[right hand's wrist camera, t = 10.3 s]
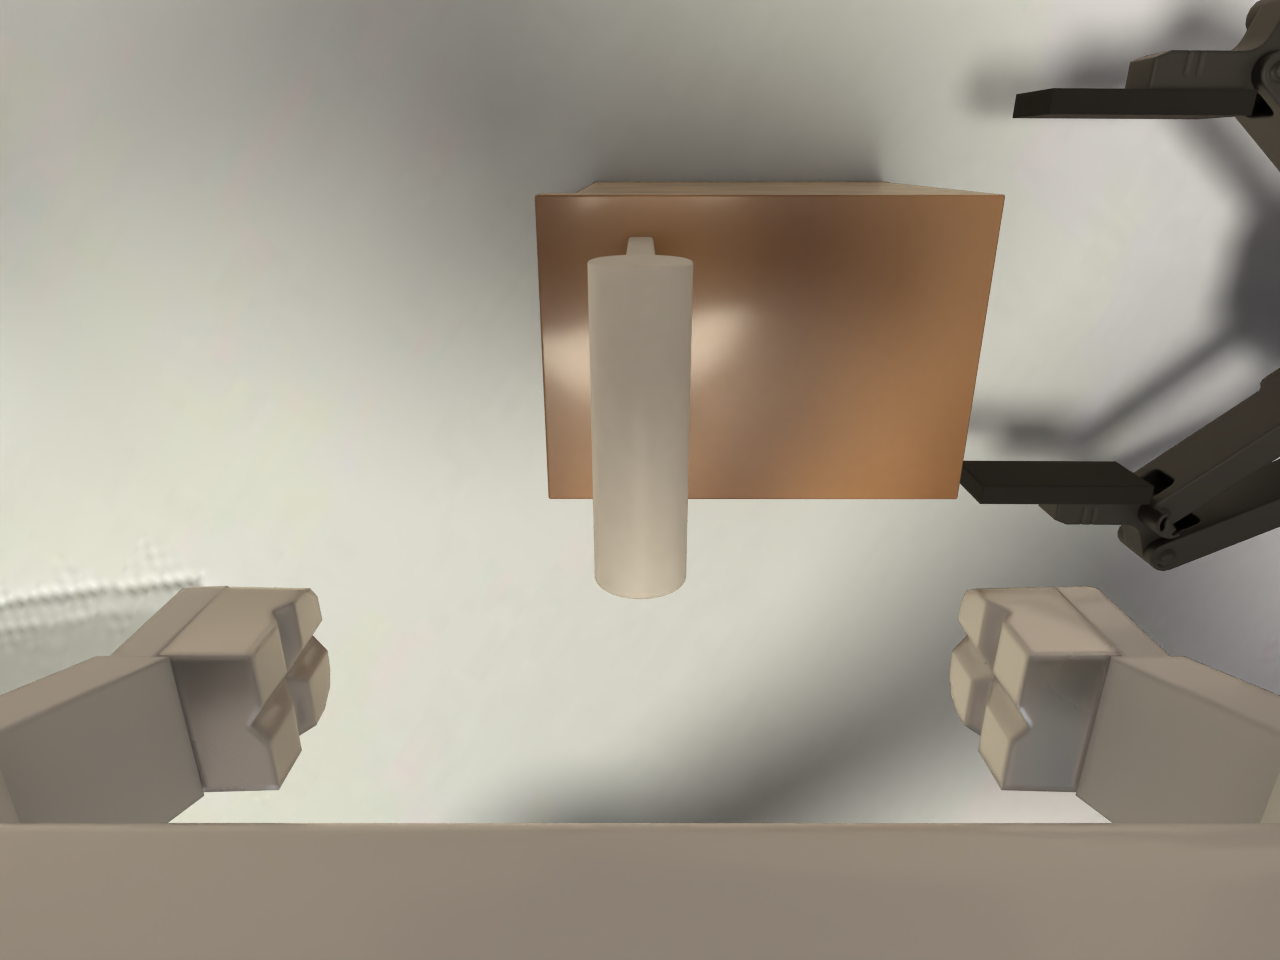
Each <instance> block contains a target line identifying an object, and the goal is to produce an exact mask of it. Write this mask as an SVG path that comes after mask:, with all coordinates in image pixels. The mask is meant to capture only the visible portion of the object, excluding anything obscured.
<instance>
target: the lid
mask: <svg viewBox="0 0 1280 960" xmlns="http://www.w3.org/2000/svg"><path fill="white" fill-rule="evenodd" d="M1004 199H1005V195H1002V194H992V193H541V194H538V195H535V212H536V234H537V255H538V277H539V299H540V320H541V342H542V364H543V385H544V407H545V429H546V450H547V472H548V494H549V498H550V499H593V516H594V558H595V579H596V582H597V583H598V585H599V586H600V587H601V588H602V589H604V590H605V591H607V592H609V593H611V594H613V595H616V596H620V597H625V598H632V599H649V598H656V597H661V596H664V595H667V594H670V593H672V592H674V591H676V590H677V589H679V588H680V587H681V586H682V585H683V583H684V581H685V579H686V553H687V510H688V499H957V496H958V490H959V484H960V477H961V471H962V465H963V458H964V452H965V446H966V439H967V433H968V427H969V420H970V414H971V408H972V401H973V395H974V389H975V382H976V376H977V370H978V363H979V357H980V351H981V344H982V338H983V332H984V325H985V319H986V313H987V306H988V300H989V294H990V288H991V281H992V275H993V269H994V262H995V256H996V250H997V243H998V237H999V231H1000V224H1001V218H1002V212H1003V205H1004Z"/></svg>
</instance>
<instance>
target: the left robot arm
mask: <svg viewBox="0 0 1280 960" xmlns="http://www.w3.org/2000/svg"><path fill="white" fill-rule="evenodd" d="M1246 28H1247V32H1246V33H1245V35H1244V37H1243V39H1242V40H1241V41H1240V43H1239V44H1238V45H1237V46H1236V47H1235V48H1234V49H1233V50H1231V51H1189V50H1172V51H1167V52H1162V53H1157V54H1152V55H1147V56H1144V57H1142V58H1139V59H1137V60H1134V61H1132V62H1130V67H1129V72H1128V76H1127V81H1126V86H1125V89H1089V88H1052V89H1046V90H1040V91H1034V92H1028V93H1022V94H1016V100H1015V106H1014V113H1013V118H1094V119H1206V118H1221V117H1236V119H1237V120H1238V121H1239V122H1240V124H1241V125H1242V126H1243V127H1244V128H1245V130H1246V131H1247V132H1248V133H1249V135H1250V136H1251V137H1252V138H1253V139H1254V141H1255V142H1256V143H1257V144H1258V146H1259V147H1260V148H1261V149H1262V150H1263V152H1264V153H1265V154H1266V155H1267V157H1268V158H1269V159H1270V160H1271V161H1272V163H1273V164H1274V165H1275V166H1276V168H1277V169H1278V170H1279V171H1280V0H1260V1H1258V2H1256V3H1255V5H1254V6H1253V7H1252V8H1251V9H1250V11H1249V13H1248V15H1247V18H1246ZM1260 384H1261V388H1260V390H1259V391H1258V392H1256V393H1255V394H1253V395H1252V396H1250V397H1249V398H1247V399H1246V400H1244V401H1243V402H1241V403H1240V404H1238V405H1237V406H1235V407H1234V408H1232V409H1231V410H1229V411H1227V412H1226V413H1224V414H1223V415H1221V416H1220V417H1218V418H1217V419H1215V420H1214V421H1212V422H1211V423H1209V424H1208V425H1206V426H1205V427H1203V428H1202V429H1200V430H1199V431H1197V432H1195V433H1194V434H1192V435H1191V436H1189V437H1188V438H1186V439H1185V440H1183V441H1182V442H1180V443H1179V444H1177V445H1176V446H1174V447H1173V448H1171V449H1170V450H1168V451H1166V452H1165V453H1163V454H1162V455H1160V456H1159V457H1157V458H1156V459H1154V460H1153V461H1151V462H1150V463H1148V464H1147V465H1145V466H1144V467H1142V468H1141V469H1139V470H1138V471H1136V472H1134V473H1132V472H1131V471H1129V470H1128V469H1126V468H1125V467H1123V466H1121V465H1120V464H1118V463H1117V462H1088V461H963V465H962V471H961V477H960V484H961V485H962V486H963V487H964V488H965V489H966V490H967V491H968V492H969V493H970V494H971V495H972V496H973V497H974V498H975V499H976V500H977V501H978V502H979V503H980V504H1039V506H1040V507H1041V508H1042V509H1043V510H1044V511H1045V512H1047V513H1048V514H1049V515H1050V516H1051V517H1052V518H1053V519H1055V520H1057V521H1059V522H1062V523H1064V524H1095V525H1121V526H1120V528H1119V530H1118V538H1119V540H1120V541H1121V542H1122V543H1123V544H1125V545H1126V546H1127V547H1128V548H1130V549H1131V550H1132V551H1133V552H1135V553H1136V554H1137V555H1138V556H1140V557H1141V558H1142V559H1143V560H1145V561H1146V562H1147V563H1148V564H1150V565H1151V566H1152V567H1153V568H1155V569H1157V570H1160V571H1166V570H1170V569H1172V568H1175V567H1178V566H1180V565H1183V564H1185V563H1188V562H1190V561H1193V560H1196V559H1198V558H1201V557H1203V556H1206V555H1208V554H1211V553H1213V552H1216V551H1219V550H1221V549H1224V548H1226V547H1229V546H1231V545H1234V544H1237V543H1239V542H1242V541H1244V540H1247V539H1249V538H1252V537H1255V536H1257V535H1260V534H1262V533H1265V532H1267V531H1270V530H1272V529H1275V528H1278V527H1280V459H1278V460H1276V461H1274V460H1275V459H1277V458H1279V457H1280V368H1279V369H1277V370H1276V371H1274V372H1273V373H1271V374H1270V375H1268V376H1267V377H1265V378H1264V379H1263V380H1262V382H1261V383H1260ZM1272 461H1273V462H1272Z"/></svg>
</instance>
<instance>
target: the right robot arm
mask: <svg viewBox="0 0 1280 960" xmlns="http://www.w3.org/2000/svg"><path fill="white" fill-rule="evenodd" d="M321 621H322V616H321V611H320V607H319V602H318V597H317V596H316V594H315V593H314V592H313V591H312V590H311V589H310V588H263V587H228V586H211V587H189V588H183V589H181V590H180V591H179V592H178V593H177V594H176V595H175V596H174V597H173V598H172V599H171V600H170V601H169V602H167V603H166V604H165V605H164V606H163V607H162V608H161V609H160V610H159V611H158V612H157V613H156V614H154V615H153V616H152V617H151V618H150V619H149V620H148V621H147V622H146V623H145V624H144V625H143V626H142V627H140V628H139V629H138V630H137V631H136V632H135V633H134V634H133V635H132V636H131V637H130V638H129V639H128V640H126V641H125V642H124V643H123V644H122V645H121V646H120V647H119V648H118V649H117V650H116V651H115V652H114V653H112V654H111V655H110V656H96V657H93V658H91V659H88V660H86V661H84V662H81V663H79V664H76V665H74V666H71V667H69V668H66V669H64V670H62V671H59V672H57V673H54V674H52V675H49V676H47V677H44V678H42V679H40V680H37V681H35V682H32V683H30V684H27V685H25V686H22V687H20V688H18V689H15V690H13V691H10V692H8V693H5V694H3V695H0V960H1280V696H1279V695H1277V694H1274V693H1272V692H1270V691H1267V690H1265V689H1262V688H1260V687H1257V686H1255V685H1253V684H1250V683H1248V682H1245V681H1243V680H1240V679H1238V678H1235V677H1233V676H1231V675H1228V674H1226V673H1223V672H1221V671H1218V670H1216V669H1213V668H1211V667H1209V666H1206V665H1204V664H1201V663H1199V662H1196V661H1194V660H1192V659H1189V658H1187V657H1184V656H1170V655H1169V654H1168V653H1167V652H1165V651H1164V650H1163V649H1162V648H1161V647H1160V646H1159V645H1158V644H1157V643H1156V642H1155V641H1154V640H1153V639H1152V638H1150V637H1149V636H1148V635H1147V634H1146V633H1145V632H1144V631H1143V630H1142V629H1141V628H1140V627H1139V626H1138V625H1136V624H1135V623H1134V622H1133V621H1132V620H1131V619H1130V618H1129V617H1128V616H1127V615H1126V614H1125V613H1124V612H1122V611H1121V610H1120V609H1119V608H1118V607H1117V606H1116V605H1115V604H1114V603H1113V602H1112V601H1111V600H1110V599H1109V598H1107V597H1106V596H1105V595H1104V594H1103V593H1102V592H1101V591H1100V590H1099V589H1096V588H1093V587H1090V586H1074V587H1027V588H985V589H971V590H966V592H965V595H964V597H963V599H962V601H961V605H960V610H959V616H958V621H959V623H960V624H961V626H962V627H963V629H964V630H965V632H966V634H967V636H966V637H965V638H964V639H963V640H962V641H961V642H960V643H959V644H958V646H957V647H956V648H955V649H954V650H953V651H952V659H951V666H950V685H951V696H952V699H953V702H954V705H955V709H956V711H957V713H958V715H959V717H960V719H961V721H962V722H963V724H964V725H965V726H966V727H968V728H969V729H971V730H973V731H974V732H976V733H977V734H979V735H981V738H980V743H979V749H978V751H979V752H980V754H981V756H982V758H983V759H984V761H985V763H986V764H987V766H988V768H989V770H990V771H991V773H992V775H993V776H994V778H995V780H996V782H997V783H998V785H999V787H1000V788H1001V790H1018V791H1055V792H1076V796H1077V797H1079V798H1080V799H1081V800H1083V801H1084V802H1085V803H1087V804H1088V805H1089V806H1091V807H1092V808H1093V809H1095V810H1096V811H1097V812H1099V813H1100V814H1101V815H1103V816H1104V817H1105V818H1107V819H1108V820H1109V821H1111V822H1112V823H168V822H170V821H171V820H172V819H174V818H175V817H176V816H178V815H179V814H180V813H182V812H183V811H184V810H186V809H187V808H188V807H190V806H191V805H192V804H194V803H195V802H196V801H198V800H199V799H200V798H202V797H203V796H204V792H224V791H260V790H279V789H280V787H281V785H282V783H283V782H284V780H285V778H286V777H287V775H288V773H289V771H290V770H291V768H292V766H293V764H294V763H295V761H296V759H297V758H298V756H299V754H300V752H301V751H302V749H301V743H300V738H299V736H300V735H301V734H303V733H304V732H306V731H307V730H309V729H311V728H312V727H314V726H315V725H316V724H317V722H318V721H319V719H320V717H321V715H322V713H323V711H324V709H325V706H326V701H327V697H328V693H329V689H330V664H329V657H328V651H327V650H326V649H325V648H324V647H323V646H322V644H321V643H320V642H319V641H318V640H317V639H316V638H315V637H314V636H313V634H314V632H315V630H316V629H317V627H318V626H319V624H320V623H321Z"/></svg>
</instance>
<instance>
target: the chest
mask: <svg viewBox="0 0 1280 960" xmlns="http://www.w3.org/2000/svg"><path fill="white" fill-rule="evenodd" d="M577 193H982V192H973V191H963V190H954V189H944V188H935V187H926V186H916V185H907V184H897V183H889V182H593V184H591V185H590V186H588V187H586V188H584V189H582V190H581V191H579V192H577Z"/></svg>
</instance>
